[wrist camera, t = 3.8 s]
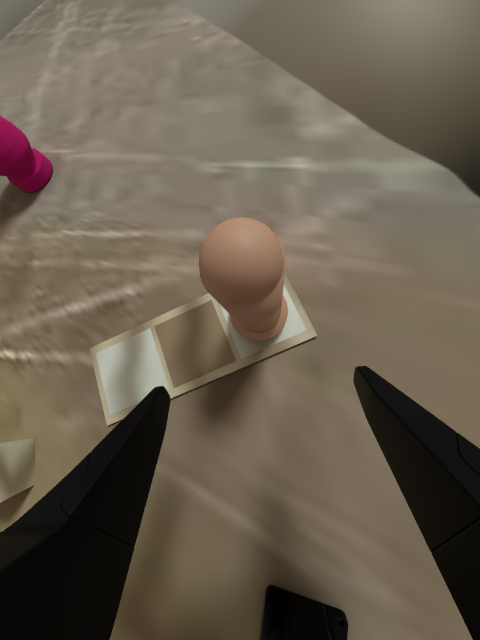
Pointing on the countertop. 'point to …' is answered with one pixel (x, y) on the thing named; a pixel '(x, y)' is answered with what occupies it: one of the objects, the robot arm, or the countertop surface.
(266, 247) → the tan knob handle
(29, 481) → the die
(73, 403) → the countertop surface
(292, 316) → the board
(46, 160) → the pepper mill
